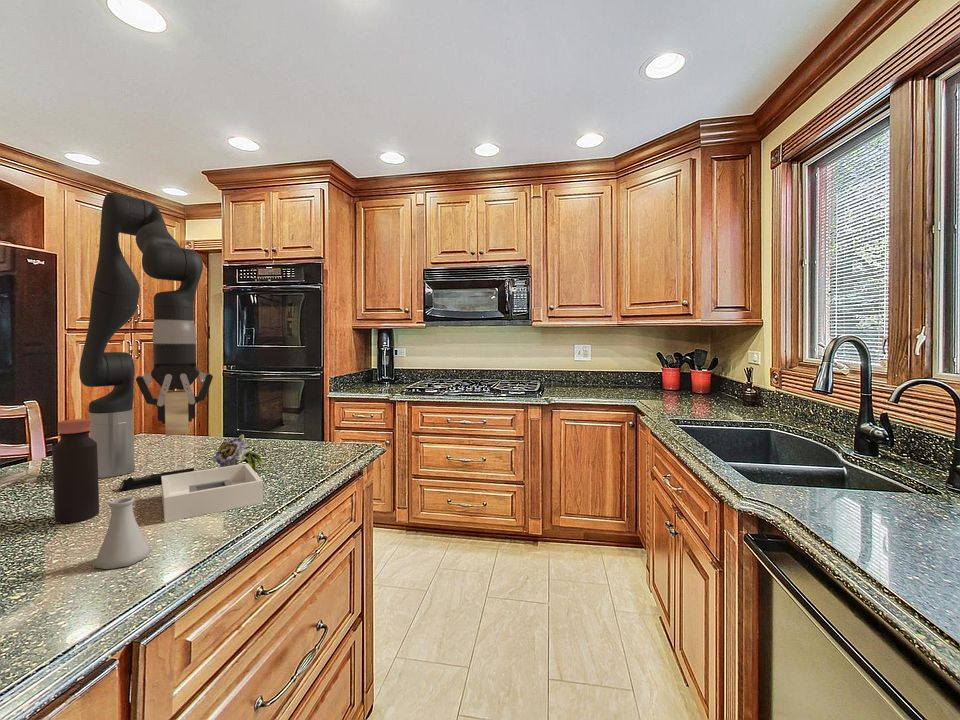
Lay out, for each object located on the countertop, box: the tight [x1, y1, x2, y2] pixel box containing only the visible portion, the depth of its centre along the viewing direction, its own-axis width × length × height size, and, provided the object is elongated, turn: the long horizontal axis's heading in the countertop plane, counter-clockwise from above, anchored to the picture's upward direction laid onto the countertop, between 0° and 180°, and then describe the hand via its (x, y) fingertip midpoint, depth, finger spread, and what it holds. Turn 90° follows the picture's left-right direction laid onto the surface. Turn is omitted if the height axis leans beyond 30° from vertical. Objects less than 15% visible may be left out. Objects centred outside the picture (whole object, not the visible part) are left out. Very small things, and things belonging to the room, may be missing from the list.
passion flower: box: [210, 433, 268, 473], centre depth 124 cm, size 11×11×12 cm
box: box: [161, 462, 264, 523], centre depth 100 cm, size 18×18×5 cm
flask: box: [92, 496, 152, 570], centre depth 73 cm, size 7×7×10 cm
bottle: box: [51, 418, 100, 524], centre depth 90 cm, size 7×7×20 cm
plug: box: [164, 389, 190, 437], centre depth 94 cm, size 4×4×9 cm
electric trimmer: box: [118, 467, 195, 493], centre depth 112 cm, size 4×16×3 cm, turn 135°
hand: (176, 421), depth 94 cm, fingers closed on plug, 4 cm apart
